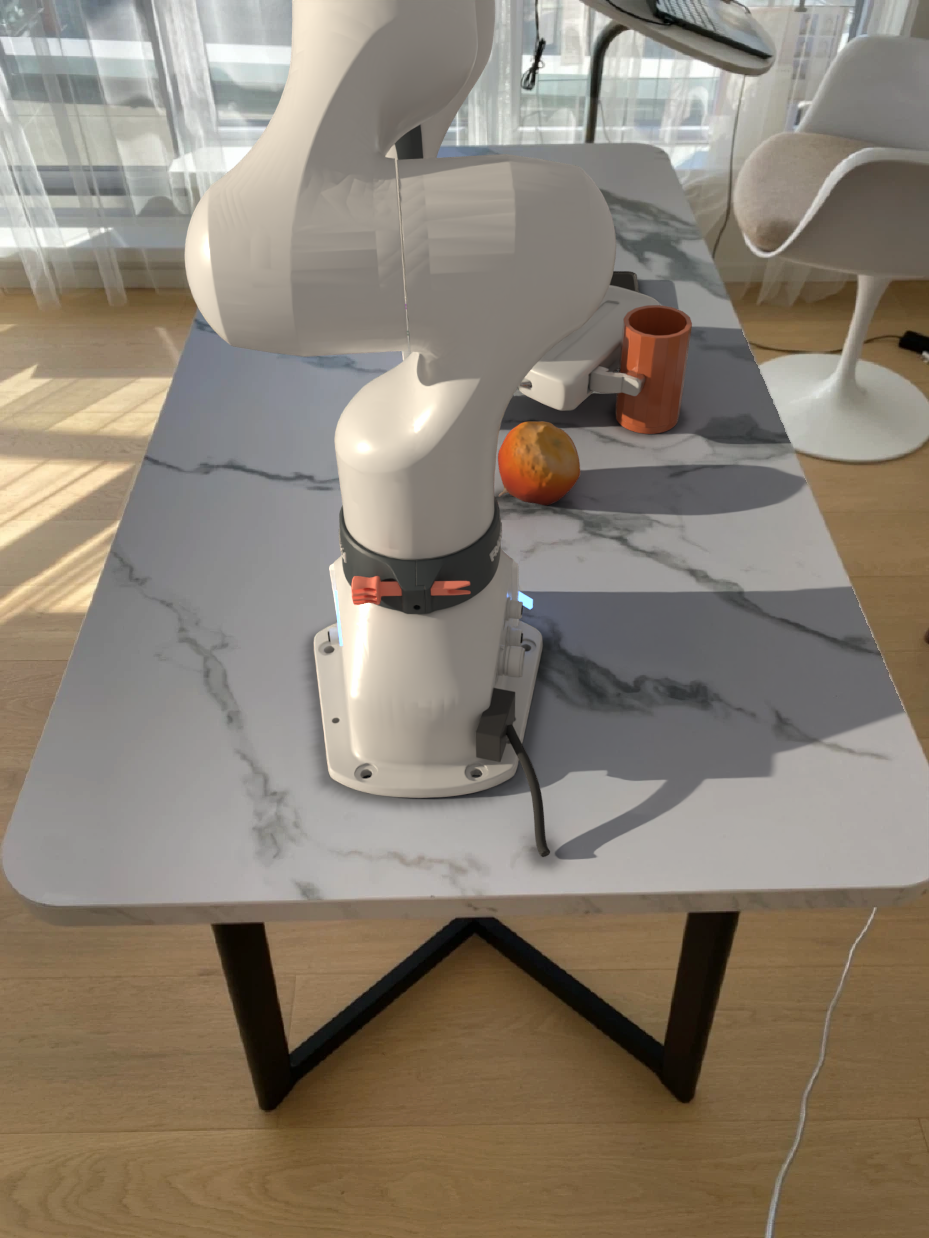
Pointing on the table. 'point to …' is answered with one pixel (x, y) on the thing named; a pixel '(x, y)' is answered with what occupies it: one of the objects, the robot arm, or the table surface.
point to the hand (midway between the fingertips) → (660, 368)
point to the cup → (654, 367)
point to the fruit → (538, 463)
